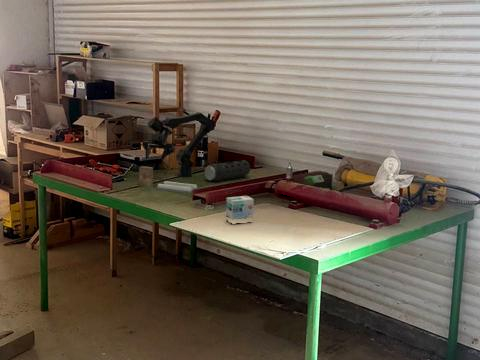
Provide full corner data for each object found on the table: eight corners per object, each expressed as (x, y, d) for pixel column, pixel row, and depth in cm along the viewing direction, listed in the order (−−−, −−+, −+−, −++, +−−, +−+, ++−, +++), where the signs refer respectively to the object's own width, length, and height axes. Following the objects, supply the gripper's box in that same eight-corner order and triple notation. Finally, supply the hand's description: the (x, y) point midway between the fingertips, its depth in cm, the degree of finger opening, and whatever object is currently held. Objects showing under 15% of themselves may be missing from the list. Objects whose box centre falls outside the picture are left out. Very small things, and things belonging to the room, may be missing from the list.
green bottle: (288, 199, 301) (289, 180, 298) (274, 195, 308) (275, 176, 306) (337, 189, 326) (338, 171, 324) (323, 186, 333) (325, 168, 331)
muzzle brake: (250, 178, 346) (250, 161, 344) (214, 184, 327) (214, 166, 325) (239, 175, 353) (239, 158, 351) (203, 181, 334) (203, 163, 332)
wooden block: (142, 184, 321) (142, 166, 319) (152, 185, 319) (152, 167, 317) (138, 185, 318) (138, 167, 315) (149, 186, 315) (149, 168, 313)
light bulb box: (231, 225, 252) (232, 201, 250) (225, 220, 258) (225, 197, 256) (253, 222, 257) (254, 198, 255) (246, 218, 263) (247, 195, 260)
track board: (166, 185, 321) (166, 180, 320) (197, 189, 314) (197, 184, 314) (156, 189, 311) (156, 184, 310) (189, 193, 304) (189, 188, 304)
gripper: (142, 126, 327) (133, 149, 319) (172, 129, 321) (163, 152, 313) (149, 138, 336) (140, 160, 329) (179, 141, 330) (170, 163, 322)
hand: (153, 159), depth 323 cm, fingers open, 9 cm apart
